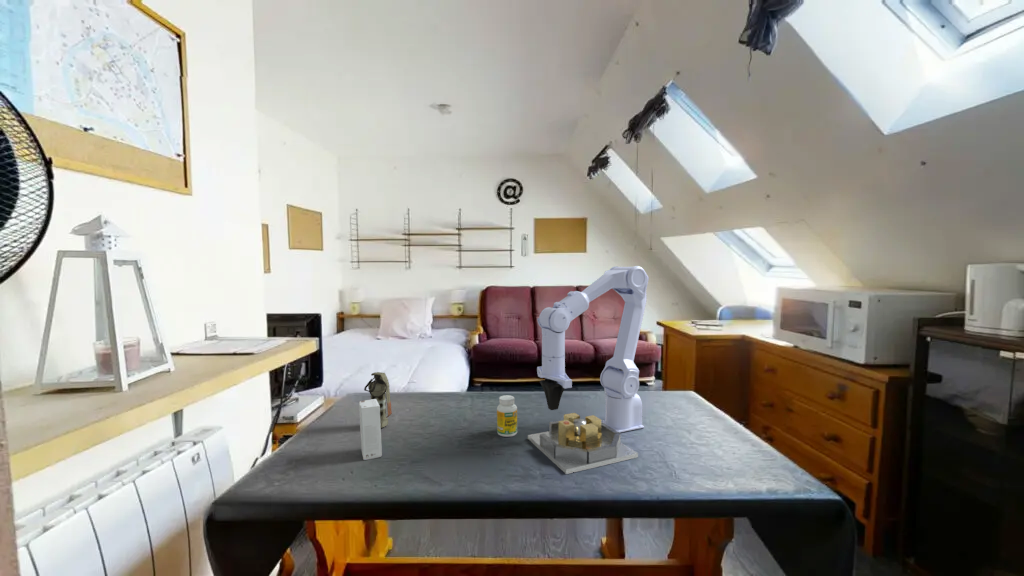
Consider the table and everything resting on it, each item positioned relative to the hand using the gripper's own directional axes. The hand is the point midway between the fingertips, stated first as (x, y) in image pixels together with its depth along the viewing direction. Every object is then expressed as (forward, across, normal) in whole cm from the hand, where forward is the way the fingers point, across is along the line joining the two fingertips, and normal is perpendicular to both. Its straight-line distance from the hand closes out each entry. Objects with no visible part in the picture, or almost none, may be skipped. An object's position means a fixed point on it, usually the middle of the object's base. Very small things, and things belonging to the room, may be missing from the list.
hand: (553, 408), depth 99 cm
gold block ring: (+7, +6, +4) cm, 10 cm away
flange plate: (+8, +6, +4) cm, 11 cm away
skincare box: (+8, -11, -43) cm, 45 cm away
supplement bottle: (+8, -9, -9) cm, 15 cm away
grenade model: (+8, -26, -40) cm, 48 cm away
